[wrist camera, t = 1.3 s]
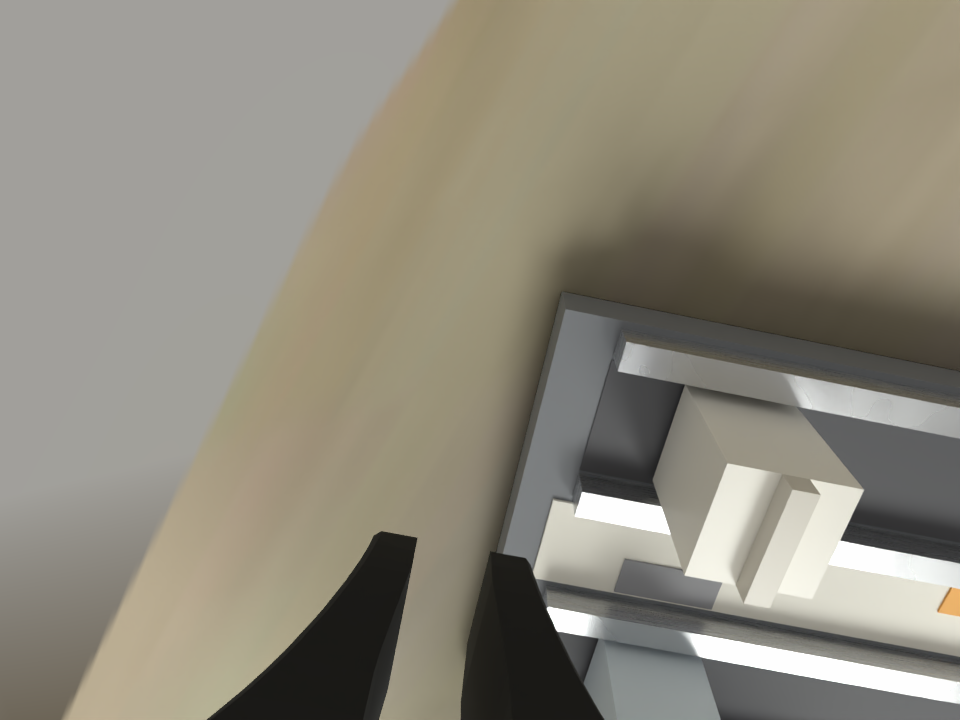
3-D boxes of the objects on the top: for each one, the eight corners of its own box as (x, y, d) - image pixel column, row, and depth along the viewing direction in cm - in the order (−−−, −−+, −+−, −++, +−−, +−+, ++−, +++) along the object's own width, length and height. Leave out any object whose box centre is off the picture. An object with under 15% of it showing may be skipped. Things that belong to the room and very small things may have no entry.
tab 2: (756, 500, 20) (822, 618, 16) (652, 480, 20) (690, 593, 16) (795, 406, 19) (877, 505, 15) (684, 384, 19) (735, 478, 15)
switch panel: (1065, 775, 26) (1119, 845, 24) (466, 668, 25) (462, 729, 23) (1312, 442, 21) (1413, 490, 18) (561, 291, 20) (568, 322, 18)
